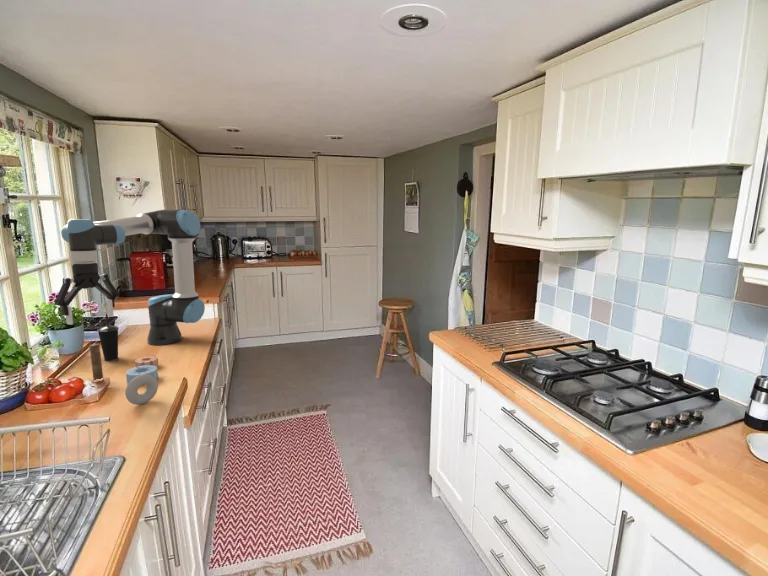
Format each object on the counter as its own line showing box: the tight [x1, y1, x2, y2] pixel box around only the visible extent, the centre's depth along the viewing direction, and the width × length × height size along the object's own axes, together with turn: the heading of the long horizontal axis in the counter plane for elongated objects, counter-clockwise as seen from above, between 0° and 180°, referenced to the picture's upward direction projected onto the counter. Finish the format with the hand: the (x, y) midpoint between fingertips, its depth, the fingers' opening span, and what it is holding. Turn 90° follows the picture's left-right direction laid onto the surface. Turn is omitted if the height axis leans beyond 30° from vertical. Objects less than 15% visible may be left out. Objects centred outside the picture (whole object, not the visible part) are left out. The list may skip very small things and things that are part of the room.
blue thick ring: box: [125, 365, 159, 385], centre depth 151 cm, size 10×10×4 cm
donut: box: [124, 374, 159, 406], centre depth 132 cm, size 10×4×10 cm, turn 148°
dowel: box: [89, 343, 104, 381], centre depth 149 cm, size 3×3×14 cm
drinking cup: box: [96, 313, 120, 362], centre depth 171 cm, size 8×8×20 cm
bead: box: [134, 355, 159, 368], centre depth 164 cm, size 8×8×4 cm
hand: (91, 320), depth 146 cm, fingers open, 13 cm apart
